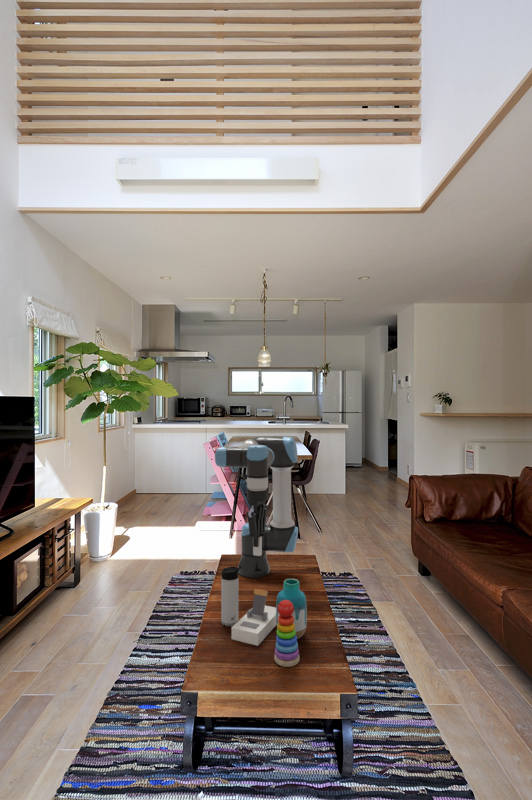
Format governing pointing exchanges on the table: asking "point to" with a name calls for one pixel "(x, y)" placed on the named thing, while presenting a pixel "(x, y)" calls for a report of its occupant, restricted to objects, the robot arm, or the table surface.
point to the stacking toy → (286, 636)
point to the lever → (259, 603)
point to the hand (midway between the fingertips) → (257, 554)
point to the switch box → (254, 626)
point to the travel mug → (229, 596)
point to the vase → (294, 605)
